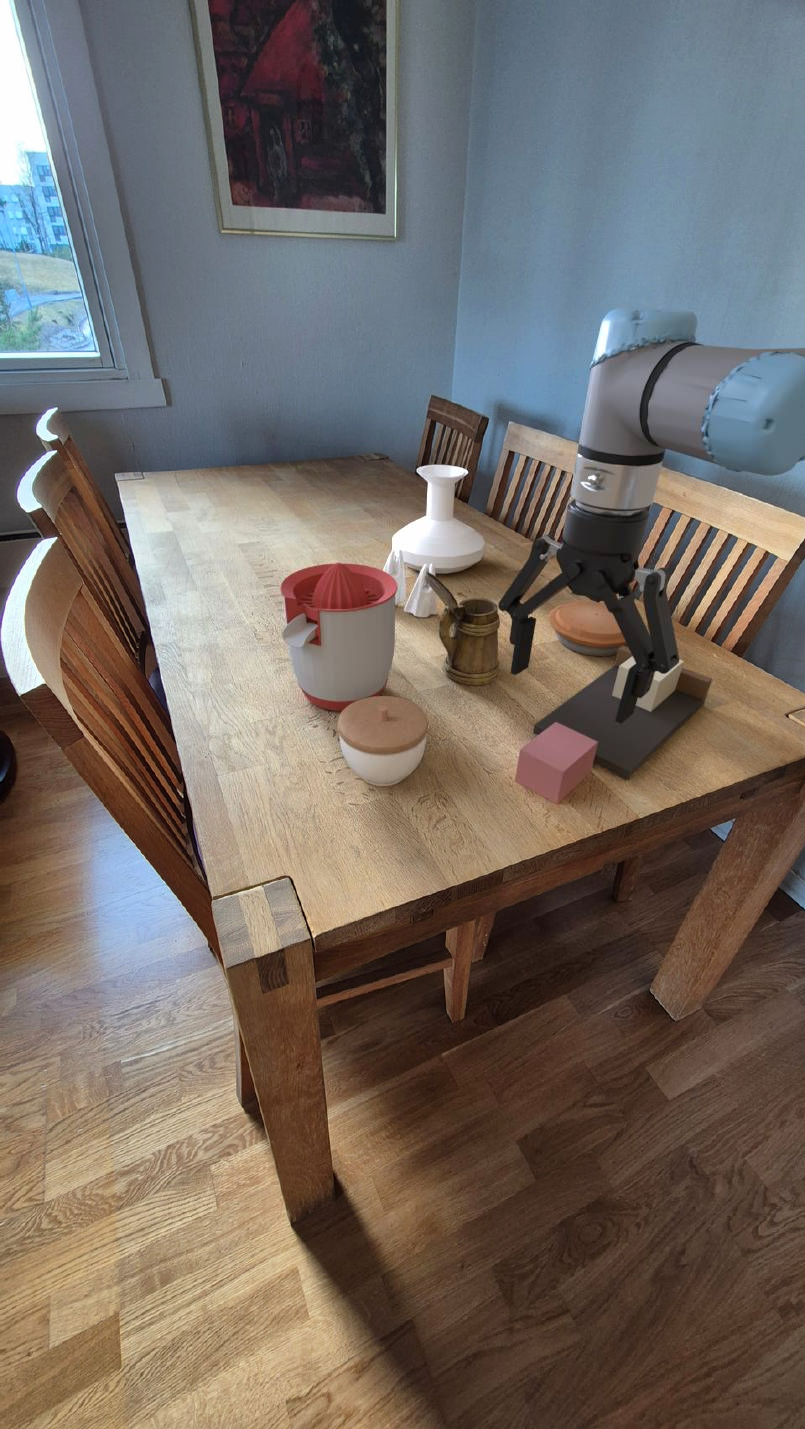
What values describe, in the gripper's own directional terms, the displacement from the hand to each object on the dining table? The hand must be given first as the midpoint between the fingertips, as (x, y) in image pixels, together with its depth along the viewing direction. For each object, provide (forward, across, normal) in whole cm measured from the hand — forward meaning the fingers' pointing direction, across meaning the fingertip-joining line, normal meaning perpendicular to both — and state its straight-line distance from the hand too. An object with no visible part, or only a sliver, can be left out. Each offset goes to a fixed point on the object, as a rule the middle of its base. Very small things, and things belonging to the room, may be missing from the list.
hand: (569, 692), depth 71 cm
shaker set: (+13, -46, +22) cm, 52 cm away
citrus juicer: (+13, -33, -6) cm, 36 cm away
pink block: (+12, 0, 0) cm, 12 cm away
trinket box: (+13, -16, -14) cm, 25 cm away
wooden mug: (+13, -24, +11) cm, 29 cm away
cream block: (+11, 0, +24) cm, 26 cm away
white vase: (+13, -57, +44) cm, 73 cm away
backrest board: (+12, 0, +18) cm, 22 cm away
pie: (+13, -15, +36) cm, 41 cm away
